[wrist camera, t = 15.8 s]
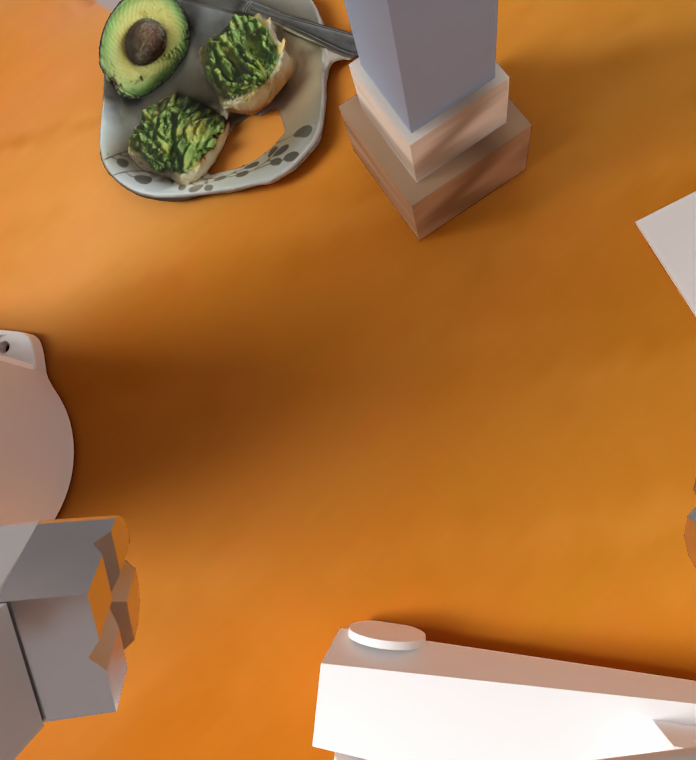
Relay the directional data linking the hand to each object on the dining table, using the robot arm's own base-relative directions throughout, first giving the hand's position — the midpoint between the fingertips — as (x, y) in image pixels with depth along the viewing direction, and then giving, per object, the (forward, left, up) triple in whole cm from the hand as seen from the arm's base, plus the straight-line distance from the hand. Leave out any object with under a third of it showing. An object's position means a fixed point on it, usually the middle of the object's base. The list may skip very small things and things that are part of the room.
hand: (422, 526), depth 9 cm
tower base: (-8, +21, -30) cm, 37 cm away
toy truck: (+8, -9, -30) cm, 33 cm away
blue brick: (-8, +21, -21) cm, 31 cm away
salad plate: (-26, +22, -30) cm, 46 cm away
